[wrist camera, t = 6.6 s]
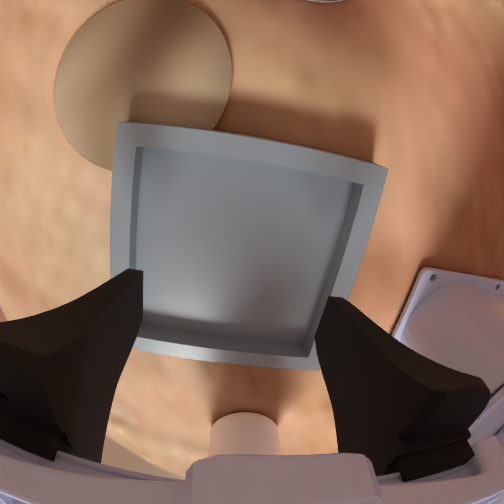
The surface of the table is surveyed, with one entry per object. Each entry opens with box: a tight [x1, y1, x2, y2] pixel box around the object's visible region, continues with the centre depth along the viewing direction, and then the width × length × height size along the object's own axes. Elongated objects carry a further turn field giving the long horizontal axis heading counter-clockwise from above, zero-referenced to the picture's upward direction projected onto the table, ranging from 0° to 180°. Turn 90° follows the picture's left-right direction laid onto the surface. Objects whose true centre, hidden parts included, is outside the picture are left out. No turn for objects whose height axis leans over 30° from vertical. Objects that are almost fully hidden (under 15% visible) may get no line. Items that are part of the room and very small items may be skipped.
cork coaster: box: [53, 0, 232, 171], centre depth 12 cm, size 9×9×1 cm
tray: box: [110, 121, 388, 370], centre depth 16 cm, size 12×12×2 cm
